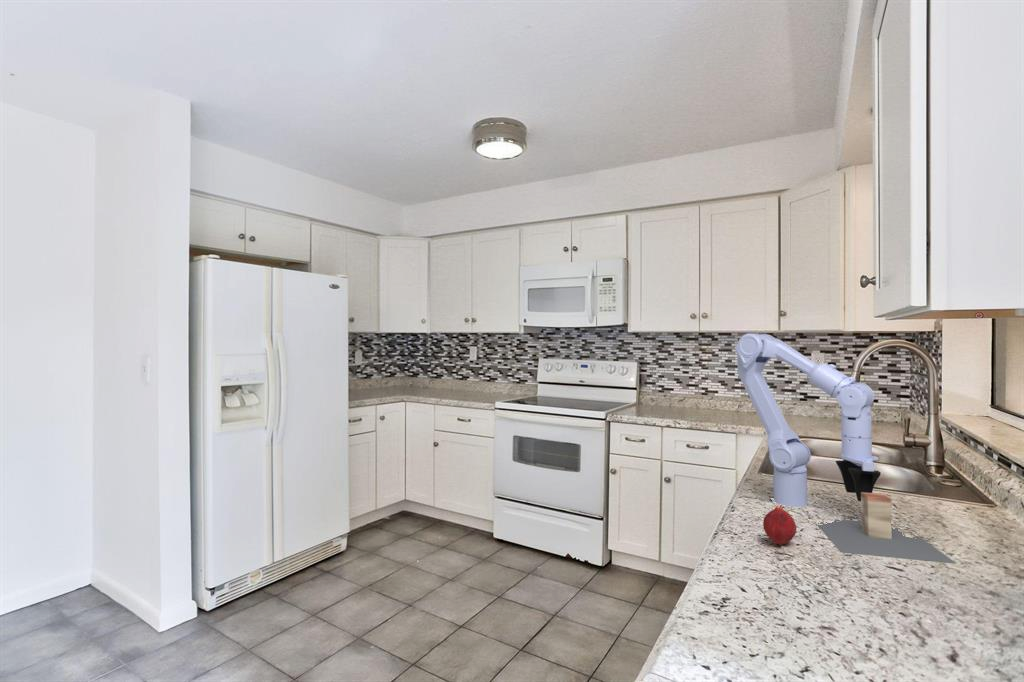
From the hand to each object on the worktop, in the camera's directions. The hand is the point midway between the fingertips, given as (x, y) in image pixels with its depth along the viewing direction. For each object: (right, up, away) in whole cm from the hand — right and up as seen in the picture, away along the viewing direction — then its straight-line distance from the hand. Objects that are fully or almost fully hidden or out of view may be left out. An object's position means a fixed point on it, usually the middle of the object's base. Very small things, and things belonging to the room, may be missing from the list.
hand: (857, 496), depth 117 cm
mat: (-5, -5, -12) cm, 14 cm away
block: (-3, -5, -10) cm, 12 cm away
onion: (-26, -5, -15) cm, 30 cm away
